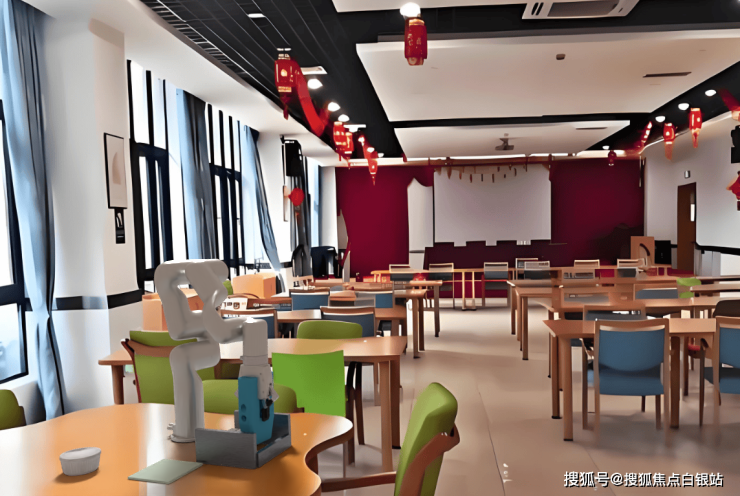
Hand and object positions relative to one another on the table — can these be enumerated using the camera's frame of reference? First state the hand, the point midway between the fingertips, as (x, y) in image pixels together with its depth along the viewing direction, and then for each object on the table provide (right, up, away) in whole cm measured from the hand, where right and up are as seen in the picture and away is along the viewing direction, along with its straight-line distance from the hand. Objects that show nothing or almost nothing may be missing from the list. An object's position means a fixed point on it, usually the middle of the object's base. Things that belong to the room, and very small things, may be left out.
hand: (256, 418), depth 189 cm
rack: (-4, -11, +1) cm, 12 cm away
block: (0, -7, 0) cm, 7 cm away
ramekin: (-50, -13, -8) cm, 52 cm away
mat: (-24, -12, -12) cm, 29 cm away
